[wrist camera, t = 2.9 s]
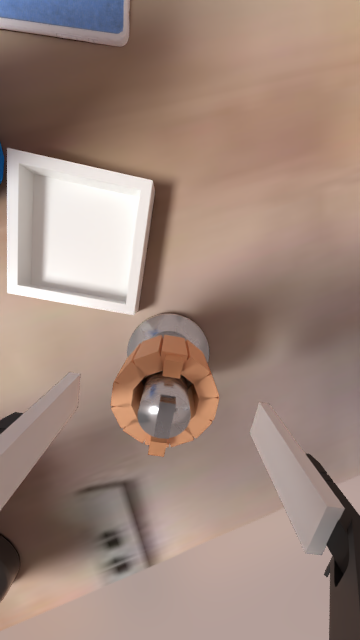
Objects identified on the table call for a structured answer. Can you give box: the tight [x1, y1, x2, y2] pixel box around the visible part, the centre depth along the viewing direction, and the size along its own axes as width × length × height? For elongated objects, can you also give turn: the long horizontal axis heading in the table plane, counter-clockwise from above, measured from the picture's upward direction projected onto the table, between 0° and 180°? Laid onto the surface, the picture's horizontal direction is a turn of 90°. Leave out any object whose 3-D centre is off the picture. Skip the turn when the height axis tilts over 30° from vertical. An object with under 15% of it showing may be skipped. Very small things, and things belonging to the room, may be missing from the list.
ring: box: [110, 335, 219, 457], centre depth 16 cm, size 8×8×5 cm
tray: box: [7, 148, 155, 315], centre depth 20 cm, size 13×13×2 cm
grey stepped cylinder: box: [127, 313, 209, 439], centre depth 18 cm, size 10×10×12 cm
